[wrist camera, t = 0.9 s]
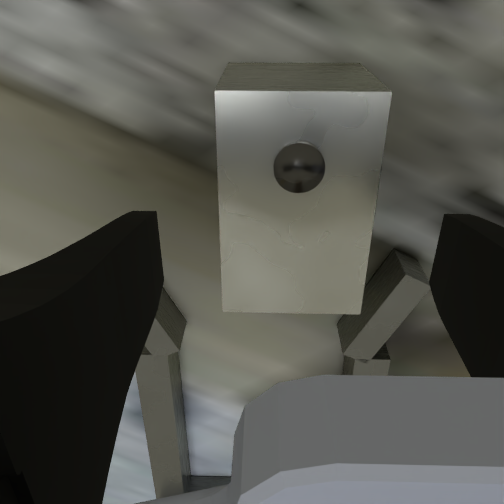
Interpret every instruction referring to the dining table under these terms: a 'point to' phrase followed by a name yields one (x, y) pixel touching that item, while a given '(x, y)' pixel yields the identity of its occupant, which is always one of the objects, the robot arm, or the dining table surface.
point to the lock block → (297, 184)
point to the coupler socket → (355, 363)
